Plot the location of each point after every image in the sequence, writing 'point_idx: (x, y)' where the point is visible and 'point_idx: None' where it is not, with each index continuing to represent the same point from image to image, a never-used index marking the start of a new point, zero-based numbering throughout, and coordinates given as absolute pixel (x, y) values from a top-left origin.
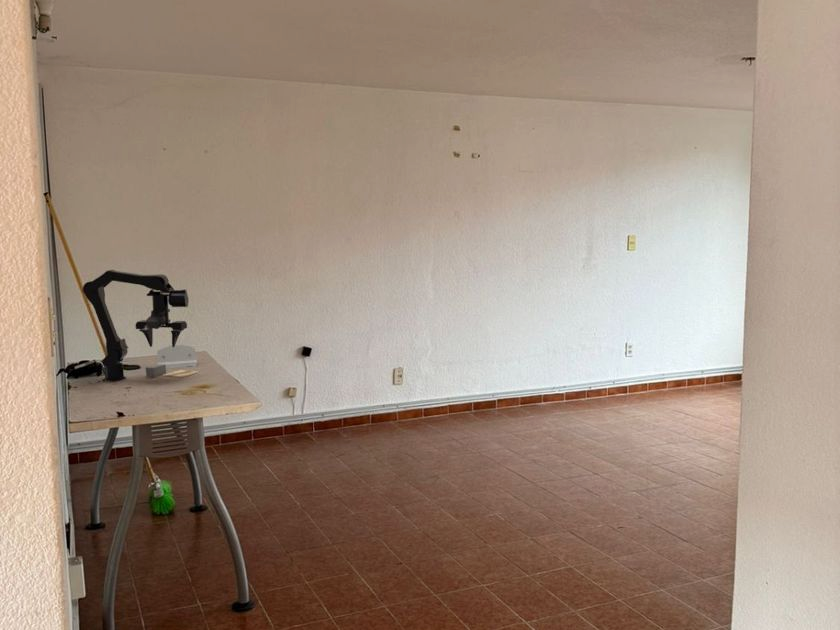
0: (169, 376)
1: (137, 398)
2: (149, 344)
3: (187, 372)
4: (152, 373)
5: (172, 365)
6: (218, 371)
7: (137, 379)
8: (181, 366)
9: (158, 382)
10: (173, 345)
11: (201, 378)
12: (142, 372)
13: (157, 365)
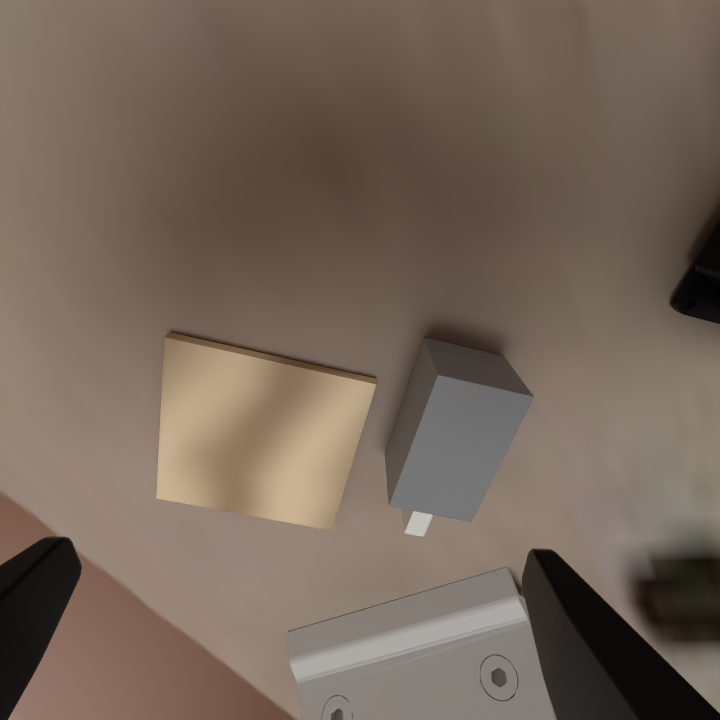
0: (307, 364)
1: None
2: (580, 585)
3: (217, 462)
4: (448, 355)
5: (421, 611)
6: (55, 526)
7: (551, 260)
8: (370, 614)
9: (292, 133)
10: (4, 563)
11: (2, 320)
12: (582, 488)
13: (447, 474)
